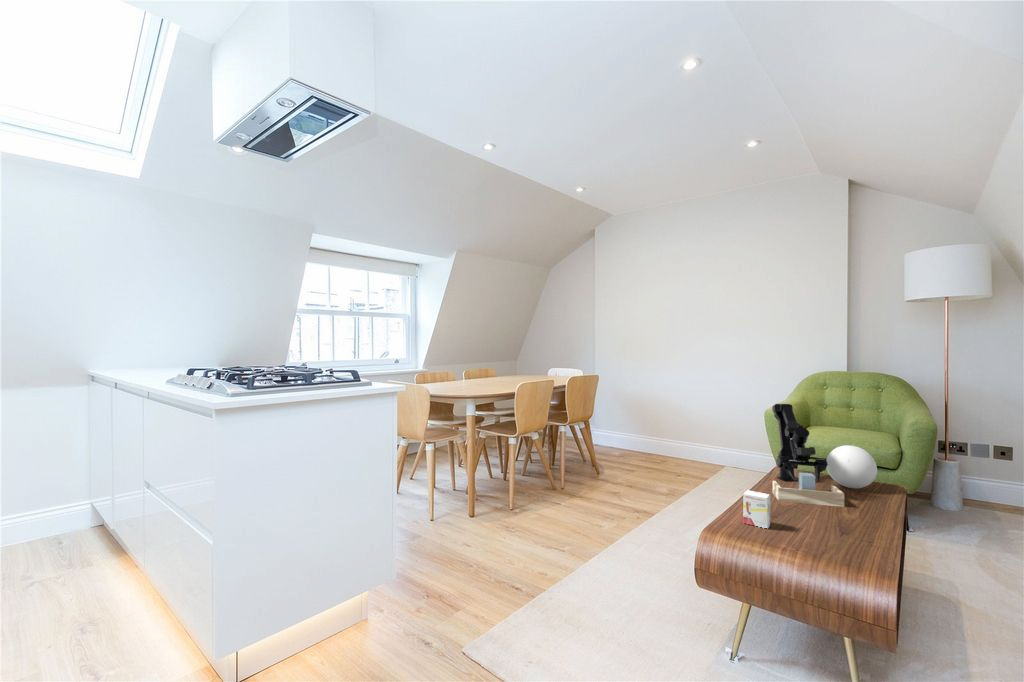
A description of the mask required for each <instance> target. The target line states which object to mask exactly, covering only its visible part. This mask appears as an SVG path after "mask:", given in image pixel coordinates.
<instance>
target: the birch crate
mask: <svg viewBox="0 0 1024 682" xmlns="http://www.w3.org/2000/svg"><path fill="white" fill-rule="evenodd" d="M830 486H831V487H830V491H825V490H816V489H815V490H804V489H799V488H790V487H781V486H780V484H779V483H778V482H777V481H776V480H772V494H773V495H774V497H775V498H776V499H777V501H778V502H787V503H798V504H809V505H819V506H829V507H830V506H831V507H843V508H845V493H844V492H843V491H842V490H841V489H839V487H837V486H835V485H832V484H831V485H830Z"/></svg>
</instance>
